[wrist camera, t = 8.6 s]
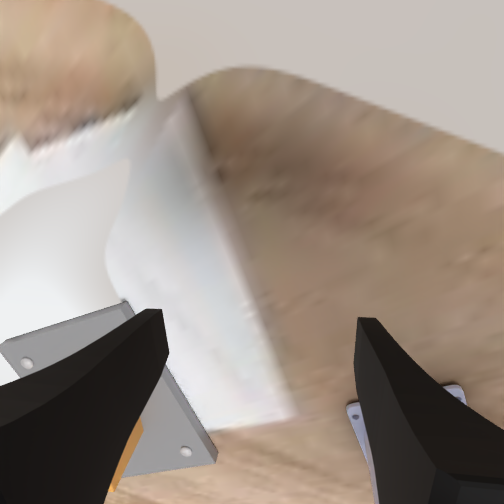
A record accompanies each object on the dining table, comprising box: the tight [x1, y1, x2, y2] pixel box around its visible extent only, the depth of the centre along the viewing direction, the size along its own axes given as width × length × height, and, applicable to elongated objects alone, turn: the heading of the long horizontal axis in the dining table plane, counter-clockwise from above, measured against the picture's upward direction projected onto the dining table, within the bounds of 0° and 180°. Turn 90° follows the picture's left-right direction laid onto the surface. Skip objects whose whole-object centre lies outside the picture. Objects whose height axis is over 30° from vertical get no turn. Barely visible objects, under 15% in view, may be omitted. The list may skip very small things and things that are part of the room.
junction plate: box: [0, 301, 218, 478], centre depth 28 cm, size 16×12×4 cm
